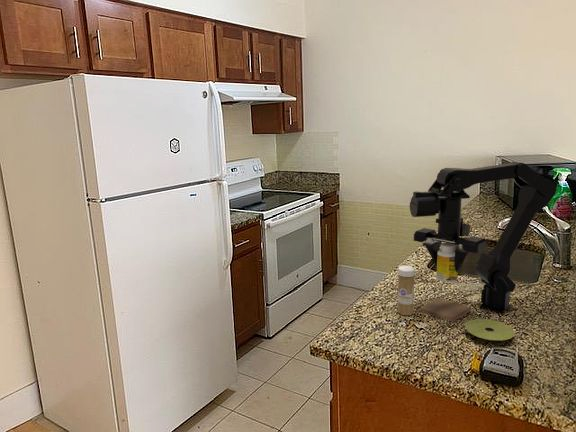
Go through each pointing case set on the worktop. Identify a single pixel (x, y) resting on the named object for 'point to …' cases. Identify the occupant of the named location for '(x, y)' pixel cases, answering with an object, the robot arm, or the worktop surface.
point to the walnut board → (445, 309)
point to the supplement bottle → (446, 263)
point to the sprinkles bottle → (405, 290)
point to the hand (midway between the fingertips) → (447, 269)
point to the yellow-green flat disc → (489, 329)
